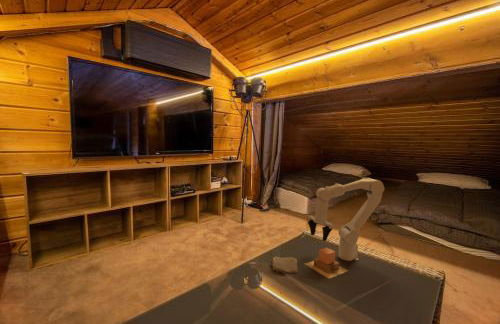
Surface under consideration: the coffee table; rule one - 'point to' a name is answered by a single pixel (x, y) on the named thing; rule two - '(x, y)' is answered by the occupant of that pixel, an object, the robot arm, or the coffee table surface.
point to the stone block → (285, 265)
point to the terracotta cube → (327, 255)
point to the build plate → (329, 275)
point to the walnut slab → (326, 266)
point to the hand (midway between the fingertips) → (318, 237)
